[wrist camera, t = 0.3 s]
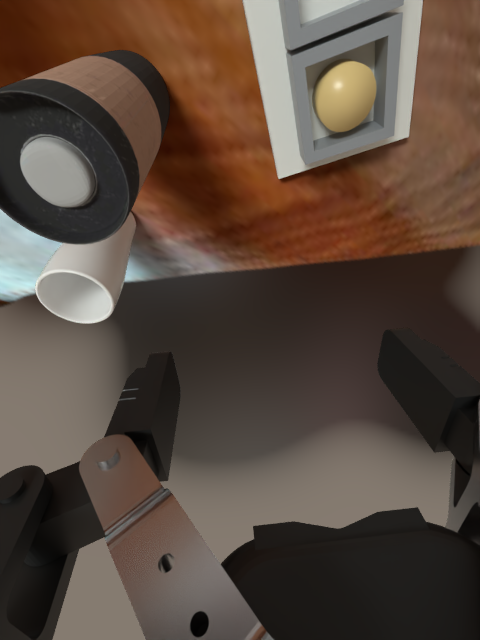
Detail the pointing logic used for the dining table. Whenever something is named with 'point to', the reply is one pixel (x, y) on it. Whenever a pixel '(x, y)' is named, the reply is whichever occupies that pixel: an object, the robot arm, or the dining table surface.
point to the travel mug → (80, 144)
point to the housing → (333, 75)
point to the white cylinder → (87, 277)
